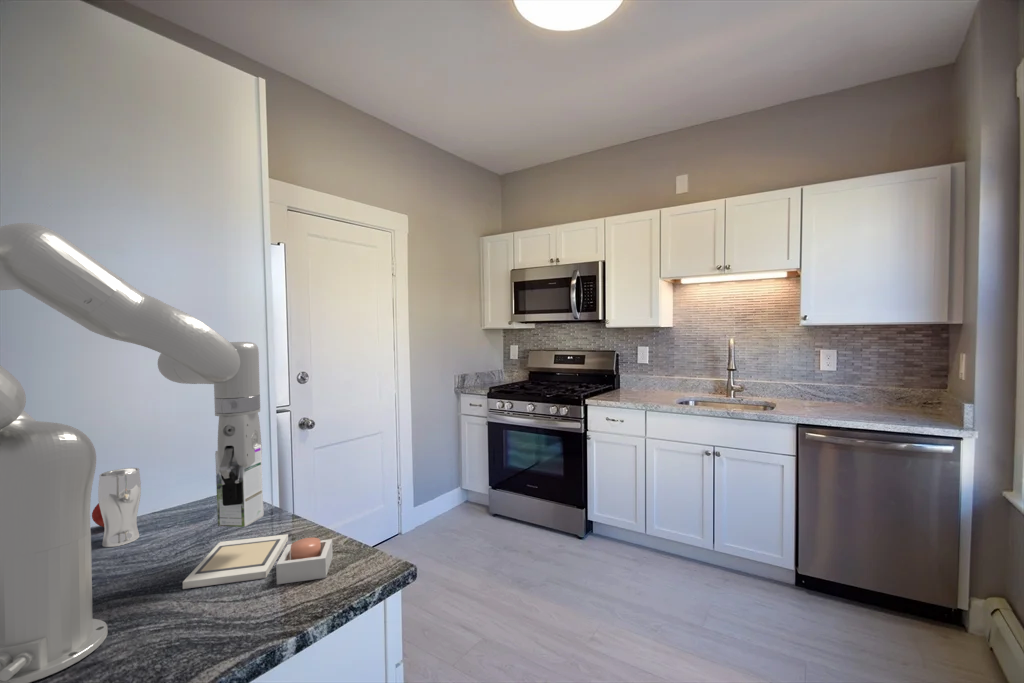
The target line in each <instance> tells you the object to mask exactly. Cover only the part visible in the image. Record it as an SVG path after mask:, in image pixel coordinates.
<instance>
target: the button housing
mask: <svg viewBox="0 0 1024 683" xmlns="http://www.w3.org/2000/svg"><path fill="white" fill-rule="evenodd" d="M320 542H321V555H320V556H319V557H311V558H303V559H295V560H291V545H292V544H293V543H288V544H287V545H286V546H285V547H284V549H283V552H282V554H280V555H281V556H280V557H279V559H278V561H276V565H275V566H276V567H275V569H276V573H275V574H276V585H283V584H289V583H297V582H298V583H299V582H305V581H312V580H318V579H326V578H327V575H328V572H329V570H330V567H331V563H332V562H333V561H332V560H333V558H334V557H333V556H334V555H333V553H334V552H333V548H334V547H333V538H331V539H322V540H321V539H320Z"/></svg>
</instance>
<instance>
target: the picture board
mask: <svg viewBox="0 0 1024 683" xmlns="http://www.w3.org/2000/svg"><path fill="white" fill-rule="evenodd" d="M288 541H289V534H279V535H278V534H277V535H269V536H261V537H260V536H259V537H252V538H250V537H249V538H244V539H243V538H242V539H234V540H227V541H226V540H225V541H219V542H218V543H217V544H216V545H215V546H214V547H213V548H212V550H211V551H210V552H209V553H208V554H207V555H206V556H205V557H204V558H203V559H202V561H201V562H200V563H199V564H198V565H197V566H196V567H195V568H194V569H193V570H192V572H191V573H189V574H188V576H186V578H185V579H184V580H183V581H182V590H185V589H191V588H200V587H208V586H214V585H221V584H229V583H230V584H231V583H237V582H245V581H246V582H247V581H252V580H254V581H255V580H259V579H266V578H267V577H268V576H269V573H270V572H271V570H272V568H273V567H274V565H275V563H277V559H278V558H279V556H280V555H281V553H282V551H284V549H285V547H286V544H287V543H286V542H288Z"/></svg>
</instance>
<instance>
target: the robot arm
mask: <svg viewBox="0 0 1024 683" xmlns="http://www.w3.org/2000/svg"><path fill="white" fill-rule="evenodd" d="M13 290H21V291H23V292H24V293H26V294H27V295H30V296H32V297H33V298H35V299H36V300H38V301H40V302H42V303H44V304H45V305H47V306H48V307H50V308H52V309H53V310H55V311H57V312H59V313H60V314H61V315H64V316H65V317H67V318H68V319H70V320H72V321H73V322H75V323H77V324H79V325H80V326H81V327H83V328H85V329H86V330H88V331H90V332H92V333H95V334H97V335H100V336H103V337H104V338H105V337H106V338H108V339H112V340H116V341H120V342H125V343H129V344H135V345H138V346H141V347H143V348H146V349H147V348H148V349H150V350H152V351H155V352H157V353H160V354H159V356H158V357H157V358H158V359H157V368H158V371H159V373H160V374H161V375H162V376H163V377H164V378H165V379H167V380H169V381H171V382H174V383H177V384H185V385H186V384H187V385H188V384H189V385H201V384H202V385H213V396H214V398H213V400H214V416H215V417H218V424H217V451H218V464H219V467H220V468H219V470H220V473H221V478H222V482H221V483H222V495H223V505H224V506H229V505H238V504H242V503H243V482H240V480H241V466H244V467H248V466H250V465H251V464H252V463H253V462H255V451H254V450H255V448H254V446H255V445H261V451H262V452H263V448H262V446H263V445H262V433H261V424H260V417H259V413H260V412H261V395H260V394H261V389H260V388H261V387H260V385H261V384H260V358H259V357H260V355H259V354H260V352H259V347H258V345H257V344H256V343H255V342H251V341H229V340H228V339H227V338H225V337H224V336H222V335H221V334H219V332H217V331H216V330H214V329H213V328H211V327H210V326H209V325H207V324H206V323H205V322H203V321H201V320H199V319H198V318H197V317H194V316H193V315H191V314H189V313H187V312H184V311H183V310H180V309H179V308H176V307H174V306H172V305H169V304H167V302H164V301H162V300H159V299H158V298H155V297H153V296H151V295H149V294H146V293H144V292H142V291H140V290H139V289H137V288H136V287H134V285H131V284H130V283H128V282H127V281H125V279H122V277H120V276H119V275H117V274H116V273H114V272H113V271H112V270H111V269H109V268H107V267H106V266H104V265H103V264H102V263H100V261H98V260H96V259H95V258H93V257H92V256H90V255H89V254H88V253H86V252H85V251H84V250H82V249H81V248H79V247H78V246H77V245H75V244H74V243H72V242H71V241H70V240H68V239H67V238H66V237H64V236H62V235H61V234H59V233H58V232H56V231H55V230H52V229H50V228H48V227H46V226H43V225H41V224H35V223H30V222H29V223H28V222H19V223H10V224H5V225H1V226H0V291H13ZM26 402H27V396H26V392H25V389H24V387H23V385H22V384H21V382H20V381H19V380H18V379H17V378H16V377H15V376H14V375H13V374H12V373H10V372H9V370H7V369H6V368H5V367H3V366H2V365H1V364H0V683H32V682H36V681H39V680H41V679H44V678H46V677H49V676H52V675H55V674H57V673H59V672H61V671H63V670H65V669H67V668H68V667H71V666H73V665H74V664H76V663H78V662H80V661H81V660H83V659H84V658H86V657H88V656H89V655H90V654H92V653H93V652H94V651H96V650H97V649H98V648H99V647H100V646H101V645H102V644H103V643H104V641H105V640H106V639H107V636H108V634H109V633H108V632H109V631H108V624H107V623H106V622H105V621H103V620H102V619H97V618H94V617H93V582H92V581H93V580H92V579H93V577H92V576H93V575H92V574H93V573H92V572H93V571H92V570H93V569H92V567H93V566H92V530H91V502H92V500H91V499H92V490H93V485H94V483H93V482H94V479H95V478H94V477H95V473H96V469H97V468H96V467H97V452H96V447H95V445H94V443H93V442H92V440H91V439H90V437H89V436H87V435H86V434H85V433H84V432H83V431H81V430H80V429H77V428H76V427H73V426H71V425H68V424H65V423H64V424H63V423H58V422H53V421H52V422H50V421H40V420H36V419H35V418H33V417H32V416H31V415H30V414H28V412H26V411H25V407H26ZM234 462H237V463H238V466H231V464H232V463H234ZM233 470H236V475H235V473H234V472H233Z"/></svg>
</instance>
